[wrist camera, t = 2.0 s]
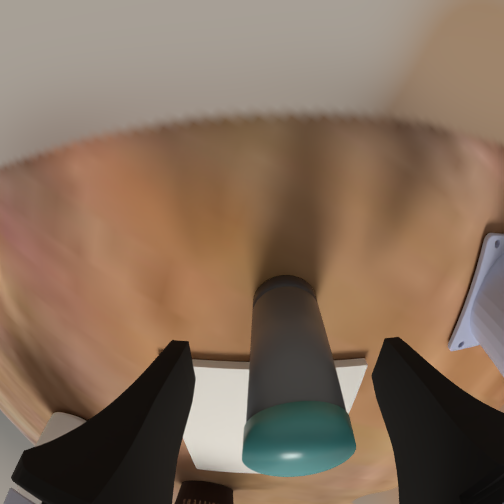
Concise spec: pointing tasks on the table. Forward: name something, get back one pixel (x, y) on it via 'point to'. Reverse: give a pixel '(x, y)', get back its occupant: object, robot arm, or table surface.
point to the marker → (293, 386)
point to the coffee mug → (204, 493)
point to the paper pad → (237, 410)
